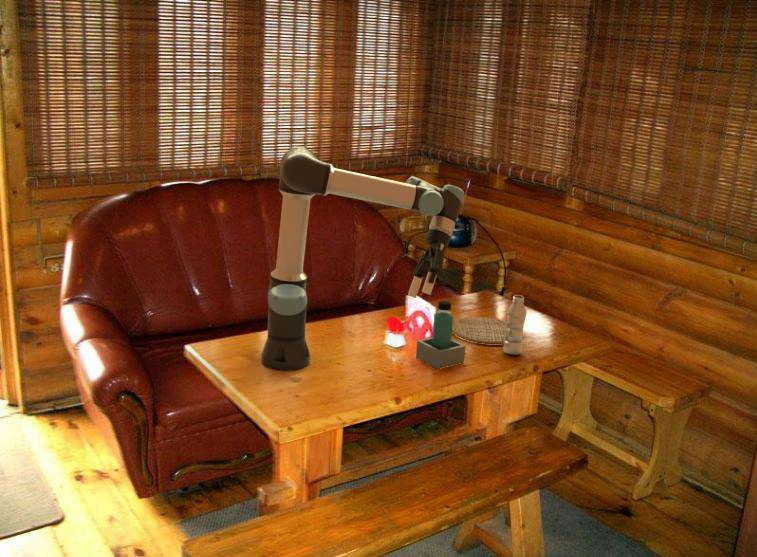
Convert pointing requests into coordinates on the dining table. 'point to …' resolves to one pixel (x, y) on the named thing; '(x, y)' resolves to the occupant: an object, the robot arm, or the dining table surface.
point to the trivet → (481, 330)
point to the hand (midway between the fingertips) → (418, 295)
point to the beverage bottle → (442, 327)
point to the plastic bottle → (515, 326)
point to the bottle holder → (440, 353)
